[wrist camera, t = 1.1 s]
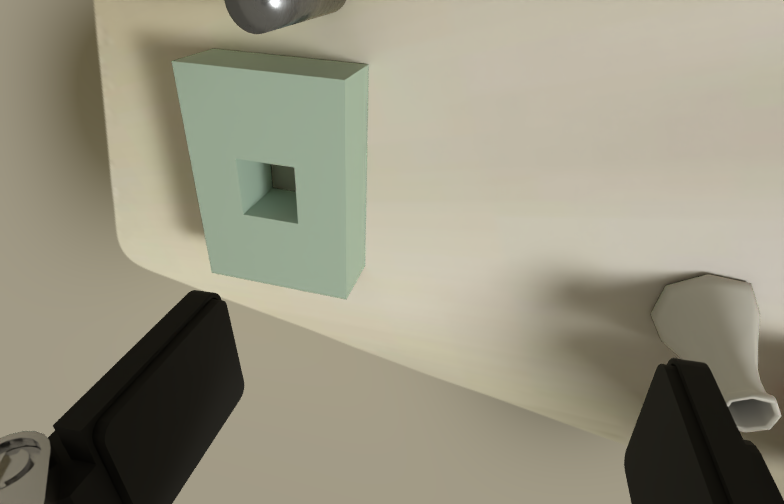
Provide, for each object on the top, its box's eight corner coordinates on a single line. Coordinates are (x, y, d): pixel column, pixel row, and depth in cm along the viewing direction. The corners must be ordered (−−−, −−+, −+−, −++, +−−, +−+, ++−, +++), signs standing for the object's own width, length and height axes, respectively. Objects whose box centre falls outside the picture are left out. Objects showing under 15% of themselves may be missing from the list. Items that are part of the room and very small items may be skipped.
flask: (647, 346, 40) (676, 450, 32) (652, 273, 36) (685, 368, 28) (751, 348, 37) (811, 459, 29) (766, 270, 34) (839, 372, 26)
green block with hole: (213, 48, 36) (171, 61, 32) (368, 64, 34) (344, 80, 29) (241, 243, 45) (211, 272, 41) (364, 266, 43) (346, 299, 39)
